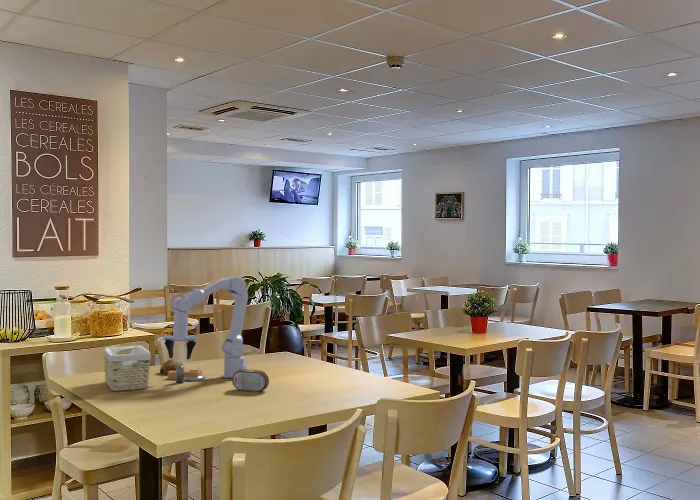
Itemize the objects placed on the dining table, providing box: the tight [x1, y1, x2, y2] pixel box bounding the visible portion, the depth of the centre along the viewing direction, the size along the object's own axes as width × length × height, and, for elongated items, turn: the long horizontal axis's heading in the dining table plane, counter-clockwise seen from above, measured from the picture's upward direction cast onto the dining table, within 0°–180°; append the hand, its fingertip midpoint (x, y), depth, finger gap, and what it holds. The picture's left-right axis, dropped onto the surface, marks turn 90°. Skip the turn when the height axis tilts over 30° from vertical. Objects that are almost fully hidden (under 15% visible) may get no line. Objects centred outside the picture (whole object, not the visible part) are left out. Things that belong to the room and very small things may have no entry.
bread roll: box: [159, 358, 185, 376], centre depth 298 cm, size 10×10×8 cm
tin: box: [231, 368, 270, 393], centre depth 263 cm, size 15×3×8 cm, turn 74°
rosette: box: [184, 374, 206, 382], centre depth 285 cm, size 10×10×1 cm
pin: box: [175, 364, 185, 384], centre depth 277 cm, size 3×3×7 cm
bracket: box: [167, 369, 203, 380], centre depth 285 cm, size 14×6×3 cm, turn 84°
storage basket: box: [103, 345, 152, 392], centre depth 271 cm, size 24×16×15 cm
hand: (179, 358), depth 277 cm, fingers open, 7 cm apart
